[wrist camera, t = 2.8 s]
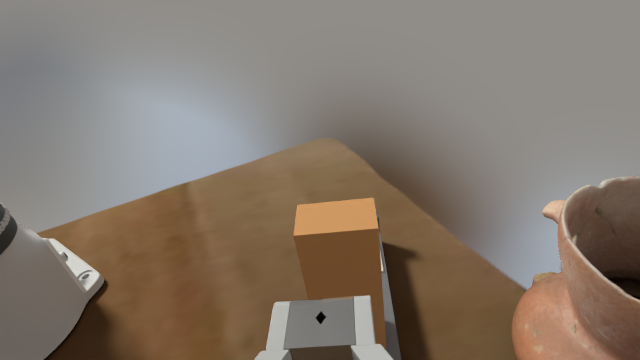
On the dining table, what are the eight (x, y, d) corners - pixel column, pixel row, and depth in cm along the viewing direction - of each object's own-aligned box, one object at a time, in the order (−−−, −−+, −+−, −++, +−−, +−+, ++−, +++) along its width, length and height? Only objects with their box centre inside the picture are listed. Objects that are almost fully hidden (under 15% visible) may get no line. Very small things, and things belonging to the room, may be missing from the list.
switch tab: (386, 348, 27) (378, 228, 21) (321, 352, 28) (293, 235, 21) (382, 314, 30) (373, 197, 23) (322, 318, 30) (297, 204, 24)
